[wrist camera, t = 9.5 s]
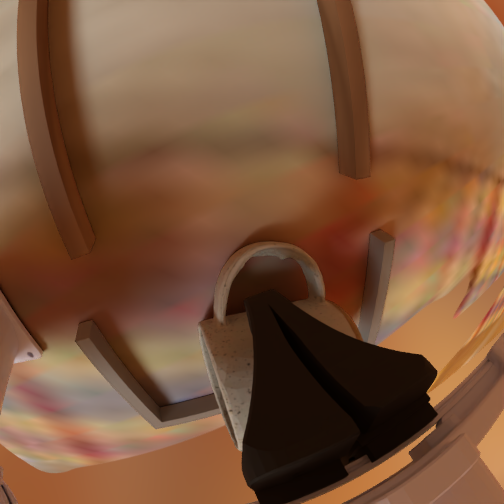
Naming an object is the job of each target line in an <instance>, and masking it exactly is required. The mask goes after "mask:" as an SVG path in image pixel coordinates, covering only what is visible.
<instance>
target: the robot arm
mask: <svg viewBox="0 0 504 504" xmlns="http://www.w3.org/2000/svg"><path fill="white" fill-rule="evenodd" d="M244 305H245V309H246V314H247V318H248V322H249V327H250V331H251V333H252V336H253V360H254V361H253V382H252V393H251V401H250V407H249V413H248V419H247V424H246V428H245V432H244V437H243V441H242V471H243V475H244V478H245V480H246V482H247V485H248V486H249V487H250V488H251V489H253V490H254V491H255V494H256V496H257V499H258V501H255V502H252V503H248V504H301V503H304V502H306V501H309V500H311V499H314V498H316V497H318V496H320V495H323V494H325V493H327V492H330V491H332V490H334V489H336V488H338V487H340V486H342V485H344V484H346V483H348V482H350V481H352V480H354V479H355V478H357V477H359V476H361V475H363V474H364V473H366V472H368V471H370V470H371V469H373V468H375V467H376V466H378V465H380V464H381V463H383V462H384V461H386V460H388V459H389V458H391V457H392V456H394V455H395V454H397V453H398V452H399V451H401V450H402V449H404V448H405V447H407V446H408V445H409V444H411V443H412V442H414V441H415V440H416V439H417V438H419V437H420V436H421V435H423V434H424V433H425V432H426V431H428V430H429V429H430V428H431V427H432V426H434V425H435V424H436V423H437V424H436V429H435V430H434V431H433V432H431V434H429V435H428V436H427V437H425V438H424V440H422V441H421V442H420V443H419V444H418V445H417V446H416V447H414V448H413V449H412V450H411V451H409V455H410V456H411V458H412V459H413V461H412V462H411V463H409V464H408V465H406V466H405V467H404V468H402V469H401V470H399V471H398V472H396V473H395V474H393V475H392V476H390V477H389V478H387V479H385V480H384V481H382V482H381V483H379V484H377V485H376V486H374V487H372V488H370V489H369V490H367V491H365V492H363V493H362V494H360V495H358V496H356V497H354V498H353V499H350V500H348V501H346V502H344V503H342V504H504V490H503V488H502V487H501V485H500V484H499V483H498V481H497V480H496V478H495V477H494V476H493V474H492V473H491V472H490V470H489V469H488V467H487V466H486V465H485V463H484V462H483V461H482V459H481V458H480V451H479V450H478V449H477V445H478V444H479V443H480V442H481V440H482V439H483V438H484V436H485V435H486V434H487V432H488V431H489V430H490V428H491V427H492V425H493V424H494V423H495V421H496V420H497V418H498V417H499V415H500V414H501V412H502V411H503V409H504V333H503V334H502V335H501V337H500V338H499V339H498V340H497V341H496V343H495V344H494V346H492V348H491V349H490V351H489V352H488V354H487V356H486V358H485V359H484V360H483V361H482V362H481V363H480V364H479V365H478V366H477V367H476V369H474V370H473V372H472V373H471V374H470V375H469V376H468V377H467V378H466V379H465V380H464V381H463V382H462V383H461V384H459V385H458V386H457V388H455V389H454V390H453V391H452V392H451V393H450V394H449V395H448V396H447V397H446V398H444V399H443V400H442V401H441V402H440V403H439V404H438V405H436V406H435V407H434V408H433V407H432V406H431V405H430V403H429V401H430V397H429V396H428V395H427V393H426V392H427V391H428V389H429V388H430V386H431V385H432V383H433V382H434V380H435V378H436V376H437V370H436V369H435V368H434V367H433V366H432V365H431V363H430V362H429V361H428V360H427V359H426V358H425V357H423V356H422V355H419V354H412V353H406V352H400V351H395V350H391V349H387V348H383V347H379V346H376V345H373V344H370V343H367V342H364V341H361V340H358V339H356V338H353V337H351V336H348V335H346V334H344V333H342V332H340V331H338V330H336V329H334V328H332V327H330V326H328V325H326V324H324V323H323V322H321V321H319V320H317V319H316V318H314V317H313V316H311V315H309V314H308V313H306V312H305V311H303V310H302V309H300V308H299V307H297V306H296V305H295V304H293V303H292V302H290V301H289V300H288V299H286V298H285V297H284V296H282V295H281V294H280V293H279V292H277V291H276V290H274V289H273V290H270V291H267V292H264V293H261V294H258V295H255V296H252V297H248V298H246V299H245V300H244ZM42 354H43V352H42V350H41V348H40V347H39V346H38V344H37V343H36V342H35V341H34V339H33V338H32V337H31V335H30V334H29V333H28V331H27V330H26V328H25V327H24V326H23V324H22V323H21V321H20V320H19V319H18V317H17V316H16V314H15V313H14V311H13V310H12V308H11V306H10V305H9V303H8V302H7V300H6V299H5V297H4V295H3V294H2V292H1V290H0V414H1V409H2V404H3V400H4V396H5V392H6V388H7V384H8V380H9V377H10V373H11V370H12V366H13V363H19V362H24V361H29V360H34V359H39V358H41V357H42ZM0 504H18V502H17V500H16V498H15V496H14V494H13V493H12V491H11V490H10V488H9V487H8V485H7V484H6V483H5V482H4V481H3V468H2V467H1V466H0Z"/></svg>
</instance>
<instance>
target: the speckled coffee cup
mask: <svg viewBox="0 0 504 504" xmlns="http://www.w3.org/2000/svg"><path fill="white" fill-rule="evenodd" d="M254 256H277V257H279V258H280V259H282V260H283V259H285V258H292V259H295V260H296V261H297V262H298V263H299V264H300V266H301V267H302V270H303V273H304V275H305V277H306V282H307V285H308V294H309V295H308V298H307V299H304V300H299V301H295V302H292V303H293V304H295V305H296V306H297V307H299V308H300V309H302V310H303V311H305V312H306V313H308V314H309V315H311V316H313V317H314V318H316V319H317V320H319V321H321V322H323V323H324V324H326V325H328V326H330V327H332V328H334V329H336V330H338V331H340V332H342V333H344V334H346V335H348V336H351V337H353V338H356V339H358V340H361V341H363V339H362V336H361V334H360V332H359V330H358V328H357V326H356V324H355V322H354V321H353V320H352V318H351V317H350V316H349V315H348V314H347V313H346V312H345V311H344V310H343V309H342V308H341V307H340V306H338V305H337V304H335V303H333V302H332V301H328V300H325V285H324V282H323V277H322V274H321V272H320V270H319V268H318V265H317V263H316V262H315V260H314V259H313V258H312V257H311V256H310V255H308V254H307V253H306V252H305V251H304V250H302V249H301V248H299V247H297V246H295V245H293V244H289V243H283V242H275V241H266V242H257V243H253V244H250V245H247V246H245V247H243V248H242V249H240V250H238V251H237V252H235V253H234V254H233V255H232V256H231V257H230V258H229V260H228V261H227V262H226V264H225V265H224V266H223V268H222V270H221V272H220V274H219V277H218V280H217V283H216V288H215V294H214V306H213V309H214V317H213V318H212V319H208V320H204V321H201V322H199V324H198V332H199V339H200V344H201V348H202V353H203V357H204V361H205V365H206V368H207V372H208V376H209V379H210V382H211V386H212V389H213V392H214V394H215V397H216V401H217V403H218V405H219V409H220V411H221V414H222V416H223V419H224V421H225V424H226V426H227V429H228V431H229V434H230V436H231V438H232V440H233V442H234V444H235V447H236V448H237V449H238V450H240V451H242V441H243V437H244V432H245V428H246V424H247V419H248V413H249V407H250V401H251V393H252V382H253V361H254V360H253V336H252V333H251V331H250V327H249V322H248V318H247V314H246V312H244V313H238V314H233V315H228V316H226V308H227V300H228V295H229V291H230V287H231V284H232V282H233V280H234V278H235V277H236V275H237V274H238V272H239V270H240V269H241V268H243V266H244V265H245V263H246V261H247V260H249V259H250V258H251V257H254Z"/></svg>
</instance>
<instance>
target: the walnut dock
mask: <svg viewBox="0 0 504 504" xmlns="http://www.w3.org/2000/svg"><path fill="white" fill-rule="evenodd" d="M317 3H318V7H319V12H320V16H321V21H322V26H323V31H324V37H325V42H326V48H327V54H328V60H329V67H330V74H331V81H332V89H333V97H334V107H335V117H336V128H337V141H338V156H339V173H341V174H343V175H346V176H348V177H351V178H353V179H355V180H357V179H362V178H367V177H370V138H369V119H368V106H367V95H366V86H365V77H364V69H363V62H362V55H361V49H360V43H359V38H358V32H357V27H356V22H355V18H354V13H353V9H352V5H351V1H350V0H317ZM17 60H18V74H19V84H20V93H21V100H22V106H23V112H24V118H25V123H26V128H27V133H28V137H29V142H30V146H31V150H32V154H33V158H34V161H35V165H36V168H37V172H38V175H39V178H40V182H41V185H42V188H43V191H44V194H45V197H46V199H47V202H48V205H49V208H50V210H51V213H52V216H53V218H54V221H55V223H56V226H57V228H58V231H59V233H60V235H61V238H62V240H63V242H64V244H65V247H66V249H67V251H68V253H69V255H70V257H71V259H75V258H78V257H80V256H83V255H86V254H89V253H90V251H91V249H92V247H93V244H94V242H95V240H96V238H95V235H94V233H93V230H92V228H91V225H90V222H89V220H88V217H87V215H86V212H85V209H84V206H83V203H82V201H81V198H80V195H79V192H78V189H77V186H76V183H75V179H74V176H73V173H72V170H71V166H70V163H69V159H68V156H67V152H66V148H65V144H64V140H63V136H62V132H61V127H60V123H59V118H58V113H57V108H56V102H55V96H54V90H53V83H52V76H51V67H50V57H49V44H48V0H19V5H18V18H17Z"/></svg>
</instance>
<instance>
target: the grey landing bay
mask: <svg viewBox="0 0 504 504" xmlns="http://www.w3.org/2000/svg"><path fill="white" fill-rule="evenodd" d="M394 246H395V238H393V237H392V236H390V235H389V234H387V233H386V232H384V231H383V230H378V231H375V232H372V233H370V242H369V254H368V264H367V273H366V281H365V289H364V296H363V303H362V310H361V316H360V322H359V328H358V330H359V332H360V334H361V336H362V339H363V341H364V342H367V343H370V344H373V345H374V344H375V341H376V337H377V333H378V329H379V325H380V321H381V317H382V312H383V308H384V303H385V299H386V294H387V289H388V284H389V278H390V272H391V266H392V260H393V253H394ZM75 342H76V343H77V345H78V346H79V347H80V349H81V350H82V351H83V352H84V354H85V355H86V356H87V357H88V359H89V360H90V361H91V362H92V364H93V365H94V366H95V367H96V368H97V370H98V371H99V372H100V373H101V374H102V375H103V377H104V378H105V379H106V380H107V381H108V382H109V383H110V384H111V386H112V387H113V388H114V389H115V390H116V391H117V392H118V393H119V394H120V395H121V396H122V397H123V398H124V399H125V400H126V401H127V402H128V403H129V404H130V405H131V406H132V407H133V408H134V409H135V410H136V411H137V412H138V413H139V414H140V415H141V416H142V417H143V418H144V419H145V420H146V421H147V422H149V423H150V424H151V425H152V426H153V427H154V428H155V429H159V428H164V427H169V426H174V425H178V424H183V423H187V422H191V421H195V420H199V419H203V418H207V417H211V416H214V415H218V414H221V411H220V409H219V405H218V403H217V401H216V397H215V394H211V395H207V396H204V397H200V398H197V399H193V400H189V401H185V402H181V403H177V404H173V405H168V406H164V407H159V406H158V405H157V404H156V403H155V402H154V401H153V400H152V398H151V397H150V396H149V395H148V394H147V393H146V392H145V390H144V389H143V388H142V387H141V386H140V384H139V383H138V382H137V381H136V380H135V378H134V377H133V376H132V375H131V373H130V372H129V371H128V369H127V368H126V367H125V366H124V364H123V363H122V362H121V360H120V359H119V358H118V356H117V355H116V354H115V352H114V351H113V349H112V348H111V347H110V345H109V344H108V342H107V341H106V339H105V338H104V336H103V335H102V334H101V332H100V331H99V329H98V328H97V326H96V324H95V323H94V321H93V320H90V321H86V322H83V323H79V326H78V331H77V335H76V340H75Z"/></svg>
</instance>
